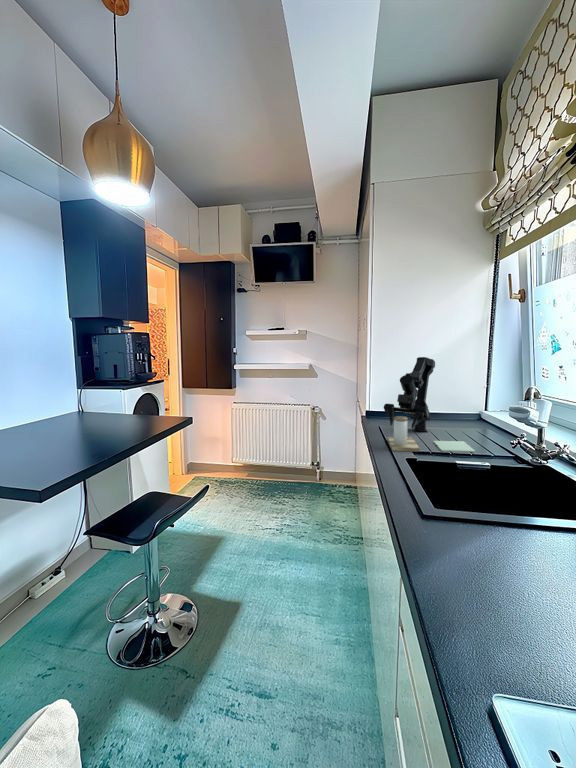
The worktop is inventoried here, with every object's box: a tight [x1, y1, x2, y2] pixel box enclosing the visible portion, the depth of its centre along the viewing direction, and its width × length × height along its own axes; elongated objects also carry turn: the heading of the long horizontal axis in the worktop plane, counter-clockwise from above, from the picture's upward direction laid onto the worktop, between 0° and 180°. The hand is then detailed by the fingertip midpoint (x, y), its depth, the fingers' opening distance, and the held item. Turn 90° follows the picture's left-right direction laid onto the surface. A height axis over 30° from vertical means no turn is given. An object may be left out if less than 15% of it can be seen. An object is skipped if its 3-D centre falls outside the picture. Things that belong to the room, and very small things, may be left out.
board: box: [387, 436, 421, 453], centre depth 144 cm, size 16×11×2 cm
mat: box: [432, 440, 476, 453], centre depth 141 cm, size 13×13×1 cm
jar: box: [393, 415, 409, 446], centre depth 141 cm, size 6×6×12 cm
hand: (401, 426), depth 142 cm, fingers open, 9 cm apart
